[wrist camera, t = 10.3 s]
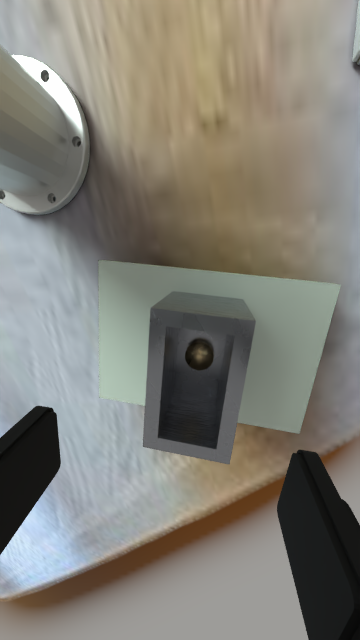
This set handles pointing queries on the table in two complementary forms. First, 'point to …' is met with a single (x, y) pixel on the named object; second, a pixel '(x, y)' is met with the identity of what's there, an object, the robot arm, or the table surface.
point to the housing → (196, 374)
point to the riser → (267, 345)
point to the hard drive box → (357, 38)
